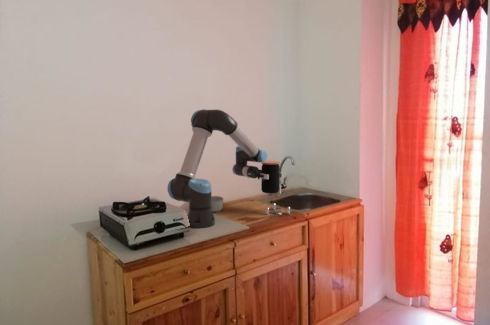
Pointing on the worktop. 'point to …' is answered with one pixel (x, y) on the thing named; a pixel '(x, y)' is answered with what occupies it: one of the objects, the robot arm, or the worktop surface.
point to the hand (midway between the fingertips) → (275, 176)
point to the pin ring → (276, 211)
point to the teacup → (216, 203)
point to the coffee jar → (270, 177)
